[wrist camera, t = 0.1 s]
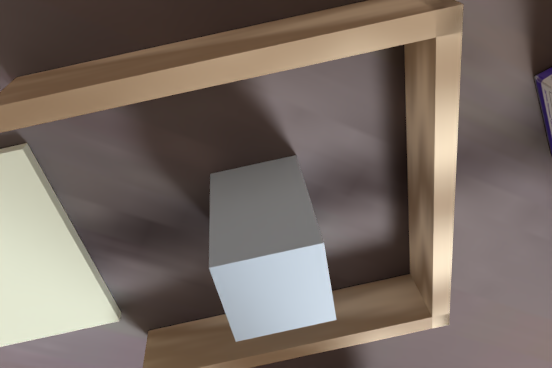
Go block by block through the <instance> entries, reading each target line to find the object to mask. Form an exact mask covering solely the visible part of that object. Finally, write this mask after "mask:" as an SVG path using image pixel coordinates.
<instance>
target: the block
mask: <svg viewBox="0 0 552 368" xmlns="http://www.w3.org/2000/svg"><path fill="white" fill-rule="evenodd" d="M209 270H210V272H211V275H212V278H213V281H214V283H215V286H216V289H217V292H218V294H219V297H220V300H221V303H222V305H223V308H224V311H225V313H226V316H227V319H228V322H229V324H230V327H231V330H232V333H233V335H234V338H235V341H236V342H237V341H242V340H246V339H251V338H256V337H260V336H265V335H269V334H274V333H279V332H283V331H288V330H292V329H297V328H302V327H306V326H311V325H315V324H320V323H325V322H329V321H334V320H336V314H335V307H334V301H333V295H332V289H331V283H330V277H329V271H328V265H327V259H326V252H325V246H324V241H323V238H322V235H321V232H320V229H319V226H318V222H317V219H316V216H315V213H314V210H313V207H312V204H311V200H310V197H309V194H308V191H307V188H306V185H305V181H304V178H303V175H302V172H301V169H300V166H299V162H298V159H297V156H296V155H294V156H290V157H285V158H281V159H276V160H272V161H267V162H262V163H258V164H253V165H249V166H244V167H239V168H235V169H230V170H226V171H221V172H216V173H212V174H210V228H209Z"/></svg>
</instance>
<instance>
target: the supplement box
mask: <svg viewBox="0 0 552 368" xmlns="http://www.w3.org/2000/svg"><path fill="white" fill-rule="evenodd" d="M534 79H535V84H536V89H537V93H538V97H539V101H540V105H541V110H542V114H543V118H544V123H545V127H546V132H547V137H548V142H549V146H550V150H551V154H552V67H551V68H549V69H547V70H546V71H544V72H542V73H540V74H538V75H536V76H535V77H534Z"/></svg>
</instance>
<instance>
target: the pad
mask: <svg viewBox="0 0 552 368" xmlns="http://www.w3.org/2000/svg"><path fill="white" fill-rule="evenodd" d="M121 314H122V313H121V311H120V310H119V308H118V306H117V304H116V302H115V300H114V299H113V297H112V295H111V293H110V291H109V290H108V288H107V286H106V284H105V282H104V281H103V279H102V277H101V275H100V273H99V272H98V270H97V268H96V266H95V264H94V263H93V261H92V259H91V257H90V255H89V254H88V252H87V250H86V248H85V246H84V245H83V243H82V241H81V239H80V237H79V236H78V234H77V232H76V230H75V228H74V227H73V225H72V223H71V221H70V219H69V218H68V216H67V214H66V212H65V210H64V209H63V207H62V205H61V203H60V201H59V200H58V198H57V196H56V194H55V192H54V191H53V189H52V187H51V185H50V183H49V182H48V180H47V178H46V176H45V174H44V173H43V171H42V169H41V167H40V165H39V164H38V162H37V160H36V158H35V156H34V155H33V153H32V151H31V149H30V147H29V146H28V144H27V143H25V144H20V145H16V146H11V147H7V148H2V149H0V347H2V346H7V345H11V344H16V343H21V342H25V341H30V340H34V339H39V338H44V337H48V336H53V335H58V334H62V333H67V332H71V331H76V330H81V329H85V328H90V327H94V326H99V325H104V324H108V323H113V322H117V321H120V318H121Z"/></svg>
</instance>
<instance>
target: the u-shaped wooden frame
mask: <svg viewBox="0 0 552 368" xmlns="http://www.w3.org/2000/svg"><path fill="white" fill-rule="evenodd" d="M462 26H463V4H462V3H460V2H457V1H455V0H368V1H363V2H358V3H354V4H349V5H345V6H340V7H336V8H331V9H326V10H322V11H317V12H313V13H308V14H304V15H299V16H295V17H290V18H285V19H281V20H276V21H272V22H267V23H263V24H258V25H253V26H249V27H244V28H240V29H235V30H231V31H226V32H222V33H217V34H212V35H208V36H203V37H199V38H194V39H190V40H185V41H180V42H176V43H171V44H167V45H162V46H158V47H153V48H149V49H144V50H139V51H135V52H130V53H126V54H121V55H117V56H112V57H107V58H103V59H98V60H94V61H89V62H85V63H80V64H76V65H71V66H66V67H62V68H57V69H53V70H48V71H44V72H39V73H34V74H30V75H25V76H21V77H16V78H15V79H14V80H13V81H12V82H11V83H10V84H9V85H7V86H6V87H5V88H4V89H3V90H2V91H1V92H0V133H1V132H6V131H11V130H15V129H20V128H24V127H29V126H33V125H38V124H43V123H47V122H52V121H56V120H61V119H65V118H70V117H75V116H79V115H84V114H88V113H93V112H97V111H102V110H107V109H111V108H116V107H120V106H125V105H129V104H134V103H139V102H143V101H148V100H152V99H157V98H161V97H166V96H171V95H175V94H180V93H184V92H189V91H193V90H198V89H203V88H207V87H212V86H216V85H221V84H225V83H230V82H235V81H239V80H244V79H248V78H253V77H257V76H262V75H267V74H271V73H276V72H280V71H285V70H289V69H294V68H299V67H303V66H308V65H312V64H317V63H321V62H326V61H331V60H335V59H340V58H344V57H349V56H353V55H358V54H363V53H367V52H372V51H376V50H381V49H385V48H390V47H395V46H399V45H404V53H405V92H406V132H407V172H408V211H409V251H410V274H408V275H403V276H399V277H394V278H389V279H385V280H380V281H376V282H371V283H366V284H362V285H357V286H352V287H348V288H343V289H339V290H334V291H332V295H333V301H334V307H335V314H336V320H334V321H329V322H325V323H320V324H315V325H311V326H306V327H302V328H297V329H292V330H288V331H283V332H279V333H274V334H269V335H265V336H260V337H256V338H251V339H246V340H242V341H237V342H236V341H235V338H234V335H233V333H232V330H231V327H230V324H229V322H228V319H227V316H226V314H223V315H219V316H214V317H209V318H205V319H200V320H196V321H191V322H186V323H182V324H177V325H173V326H168V327H163V328H159V329H154V330H150V331H148V337H147V344H146V350H145V357H144V363H143V368H252V367H256V366H261V365H265V364H270V363H275V362H279V361H284V360H289V359H293V358H298V357H302V356H307V355H312V354H316V353H321V352H326V351H330V350H335V349H339V348H344V347H349V346H353V345H358V344H363V343H367V342H372V341H376V340H381V339H386V338H390V337H395V336H400V335H404V334H409V333H413V332H418V331H423V330H427V329H432V328H436V327H441V326H446V325H449V314H450V292H451V270H452V248H453V225H454V203H455V181H456V159H457V137H458V115H459V93H460V70H461V48H462Z"/></svg>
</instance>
